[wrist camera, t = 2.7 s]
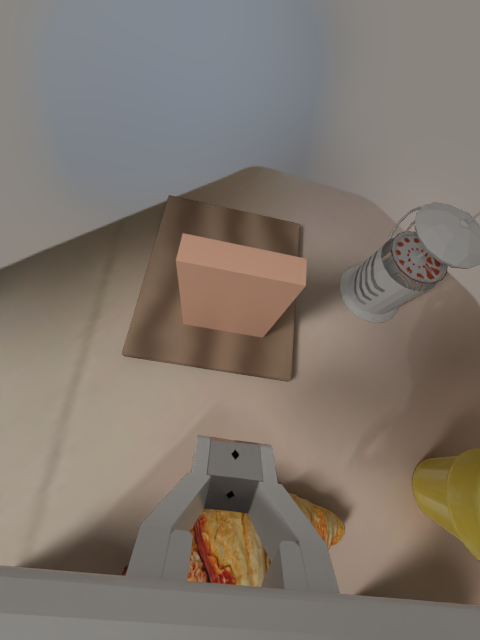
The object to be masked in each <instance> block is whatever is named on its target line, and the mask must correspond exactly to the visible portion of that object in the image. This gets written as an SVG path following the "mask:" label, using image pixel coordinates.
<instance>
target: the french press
mask: <svg viewBox="0 0 480 640" xmlns="http://www.w3.org/2000/svg"><path fill="white" fill-rule="evenodd" d="M418 209H420V210H419V211H418V212H417V213H416V219H415V221H414V222H412V223H411V224H410V226H409V227H408V229H407V230H406V231H405V232H403V233H400V234H398V235H397V236H396V237H395V238H392V239H391V237H392V234H393V232H394V231H395V229H396V228H397V226H398V225H399V224H400V223H401V222H402V220H403V219H404V218H405V217H406V216H407V215H408V214H409V213H411V212H413V211H415V210H418ZM479 215H480V212H479V213H477V214H476V215H475V216H473V217H472V216H471V215H470V214H469V213H467V212H465V211H462V210H460V209H458V208H455V207H453V206H451V205H448V204H442V203H431V204H427V205H424V206H422V207H417V208H415V209H412V210H411V211H410V212H408V213H407V214H406V215H405V216H404V217H403V218H402V219H401V220H400V221H399V222H398V223H397V225H396V226H395V228H394V229H393V230H392V232H391V234H390V236H389V238H388V241H387V242H386V243H385V244H384V245H383V246H382V247H380V248H379V250H378V251H376V252H375V253H374V254H373V255H372V256H371V257H370V258H369V259H367V261H366V262H364V263H363V264H362V265H356V266H353V267H350V268H348V269H347V270H346V271H345V272H344V273H343V274H342V276H341V280H340V284H339V287H340V293H341V297H342V299H343V301H344V303H345V304H346V306H347V308H348V309H349V310H350V311H351V312H353V313H354V314H355V315H356V316H357V317H359V318H361V319H363V320H366V321H368V322H372V323H383V322H385V321H388V320H390V319H392V318H393V317H394V315H395V314H396V313H397V311H398V308H399V306H401V305H403V304H405V303H407V302H408V301H410V300H412V299H414V298H415V297H417V296H419V295H421V294H423V293H425V292H427V291H428V290H430V289H432V288H433V287H434V286H435V285H436V283H437V282H438V281H441V280H442V279H443V278H444V276H445V275H446V273H447V266H449V267H452V268H462V269H466V268H467V269H468V268H472V267H475V266H477V265H480V225H479V224H478V223H477V222H476V221H475V219H474V218H476V217H477V216H479ZM414 223H415V230H416V232H410V231H408V230H409V229H410V228H411V227H412V225H413V224H414ZM390 251H391V253H392V256H391V257H389V258H388V259H387V260H386V261H385V262H382V258H383V257H384V256H385V255H386V254H388V253H389V252H390ZM372 266H374V267H372ZM397 272H398V273H400V274H401V275H403V276H404V277H405V279H406V280H407V281H408V287H409V289H408V288H406V287H405V283H404V282H403V280H402V279H401V278H400V277H399V276H398V275H396V273H397ZM412 280H415V283H416V286H415V288H414V291H413V290H412ZM420 283H422V285H421V287H420V289H419V290H418V291H416V290H417V288H418V286H419V284H420ZM425 283H428V284H427V286H426V288H425V289H424V290H423V291H421V290H422V288H423V287H424V285H425Z"/></svg>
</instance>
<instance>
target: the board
mask: <svg viewBox="0 0 480 640" xmlns="http://www.w3.org/2000/svg"><path fill="white" fill-rule="evenodd" d="M183 233H185V234H189V235H194V236H199V237H204V238H209V239H214V240H218V241H223V242H228V243H233V244H238V245H243V246H247V247H252V248H257V249H262V250H267V251H272V252H277V253H281V254H286V255H291V256H296V257H298V242H299V224H298V223H293V222H288V221H284V220H279V219H275V218H270V217H266V216H261V215H257V214H252V213H248V212H243V211H239V210H234V209H229V208H225V207H220V206H216V205H211V204H207V203H202V202H198V201H193V200H189V199H184V198H179V197H175V196H169V197H168V200H167V203H166V207H165V210H164V213H163V217H162V220H161V223H160V227H159V230H158V234H157V237H156V240H155V244H154V247H153V250H152V254H151V257H150V260H149V264H148V267H147V270H146V274H145V277H144V281H143V284H142V287H141V291H140V294H139V297H138V301H137V304H136V307H135V311H134V314H133V318H132V321H131V324H130V328H129V331H128V334H127V338H126V341H125V344H124V348H123V351H122V355H124V356H126V357H133V358H139V359H146V360H152V361H159V362H165V363H171V364H178V365H184V366H191V367H197V368H204V369H210V370H217V371H223V372H229V373H236V374H242V375H249V376H255V377H262V378H268V379H274V380H281V381H287V382H288V381H291V374H292V355H293V336H294V317H295V300H294V301H293V302H292V303H291V304H290V306H289V307H288V308H287V309H286V310H285V312H284V313H283V314H282V315H281V316H280V318H279V319H278V320H277V321H276V322H275V324H274V325H273V326H272V327H271V328H270V330H269V331H268V332H267V333H266V334H265V336H264V337H263V338H262V337H256V336H250V335H244V334H239V333H233V332H227V331H221V330H215V329H209V328H203V327H198V326H192V325H186V324H183V317H182V309H181V300H180V292H179V283H178V275H177V266H176V258H177V254H178V250H179V246H180V242H181V238H182V234H183ZM295 299H296V298H295Z"/></svg>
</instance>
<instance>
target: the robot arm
mask: <svg viewBox="0 0 480 640" xmlns="http://www.w3.org/2000/svg"><path fill="white" fill-rule="evenodd" d="M203 509H213V510H225V511H233V512H240V513H247V514H248V516H249V518H250V520H251V522H252V524H253V526H254V528H255V530H256V532H257V534H258V536H259V538H260V540H261V542H262V545H263V547H264V549H265V551H266V553H267V555H268V557H269V559H270V561H271V564H270V566H269V569H268V571H267V573H266V575H265V577H264V579H263V581H262V584H261V587H254V586H242V585H230V584H218V583H206V582H194V581H187V580H188V572H189V563H190V555H191V546H192V538H193V536H192V534H191V533H190V532H189V531H190V529H191V528H192V526H193V525H194V523H195V522H196V520H197V519H198V517H199V516H200V514H201V513H202V511H203ZM0 640H480V605H471V604H459V603H447V602H435V601H422V600H410V599H398V598H386V597H374V596H362V595H350V594H340V592H339V589H338V585H337V581H336V577H335V574H334V570H333V566H332V563H331V559H330V555H329V551H328V548H327V544H326V543H325V541H324V540H323V539H322V537H321V536H320V535H319V533H318V532H317V531H316V529H315V528H314V527H313V525H312V524H311V523H310V521H309V520H308V519H307V517H306V516H305V515H304V513H303V512H302V511H301V509H300V508H299V507H298V505H297V504H296V503H295V501H294V500H293V499H292V497H291V496H290V495H289V493H288V492H287V491H286V489H285V488H284V487H283V485H282V484H278V481H277V475H276V468H275V462H274V456H273V449H272V446H271V445H267V444H260V443H259V444H258V443H253V442H245V441H237V440H228V439H222V438H216V437H208V436H202V435H198V437H197V442H196V447H195V452H194V457H193V463H192V468H191V473H187V474H186V475H185V476H184V477H183V479H182V480H181V481H180V482H179V483H178V484H177V485H176V486H175V487H174V488H173V490H172V491H171V492H170V493H169V494H168V495H167V496H166V497H165V498H164V499H163V501H162V502H161V503H160V504H159V505H158V506H157V507H156V508H155V509H154V511H153V512H152V513H151V514H150V515H149V516H148V517H147V518H146V519H145V520H144V522H143V523H142V524H141V526H140V529H139V532H138V536H137V539H136V542H135V546H134V549H133V552H132V556H131V559H130V562H129V566H128V569H127V572H126V576H121V575H109V574H97V573H85V572H73V571H61V570H49V569H37V568H25V567H12V566H0Z"/></svg>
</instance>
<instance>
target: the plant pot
mask: <svg viewBox="0 0 480 640" xmlns="http://www.w3.org/2000/svg"><path fill="white" fill-rule="evenodd" d="M412 486H413V492H414V496H415V498H416V501H417V503H418V505H419V507H420V508H421V510H422V511H423V512H424V513H425V514H426V515H427V516H428V517H429V518H431V519H432V520H433V521H435V522H436V523H438V524H439V525H440V526H442V527H443V528H444V529H446V530H447V531H449V532H450V533H451V534H453V535H454V536H455V537H457V538H458V539H459V540H461V541H462V542H463V543H464V545H465V546H466V547H467V549H468V550H469V551H470V552H471V553H472V554H473V555H474V556H475V557H476V558H477V559H478V560H479V561H480V448H476V449H470V450H467V451H465V452H463V453H461V454H460V455H459V456H450V457H440V458H429V459H426V460H423V461H422V462H420V463H419V464H418V466H417V467H416V469H415V471H414V474H413V480H412Z"/></svg>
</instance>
